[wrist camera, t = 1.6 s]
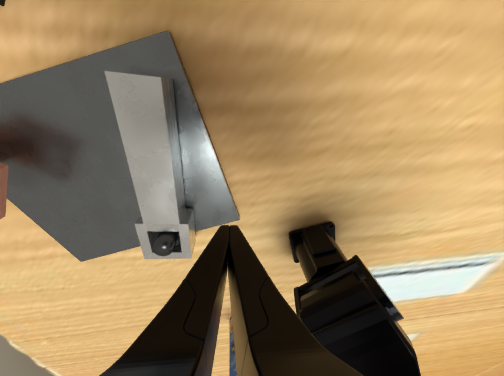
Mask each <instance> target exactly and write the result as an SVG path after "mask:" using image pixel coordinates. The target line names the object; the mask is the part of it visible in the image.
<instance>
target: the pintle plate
mask: <svg viewBox="0 0 504 376" xmlns="http://www.w3.org/2000/svg"><path fill="white" fill-rule="evenodd" d="M105 71H110V72H119V73H127V74H136V75H145V76H154V77H162V78H169V79H173V87H174V97H175V107H176V116H177V126H178V136H179V146H180V156H181V166H182V176H183V185H184V195H185V205H186V208H192V209H193V211H194V224H195V231H199V230H203V229H207V228H211V227H214V226H218V225H222V224H226V223H229V222H233V221H237V220H240V217H239V214H238V211H237V209H236V206H235V203H234V201H233V198H232V195H231V193H230V190H229V187H228V185H227V182H226V179H225V177H224V174H223V171H222V169H221V166H220V163H219V161H218V158H217V155H216V153H215V150H214V147H213V145H212V142H211V139H210V137H209V134H208V131H207V129H206V126H205V123H204V121H203V118H202V115H201V113H200V110H199V107H198V105H197V102H196V99H195V97H194V94H193V92H192V89H191V86H190V84H189V81H188V78H187V76H186V73H185V70H184V68H183V65H182V62H181V60H180V57H179V54H178V52H177V49H176V46H175V44H174V41H173V38H172V36H171V33H170V32H169V31H165V32H161V33H158V34H155V35H152V36H149V37H146V38H143V39H139V40H136V41H133V42H130V43H127V44H124V45H120V46H117V47H114V48H111V49H108V50H105V51H102V52H98V53H95V54H92V55H89V56H86V57H83V58H80V59H76V60H73V61H70V62H67V63H64V64H61V65H57V66H54V67H51V68H48V69H45V70H42V71H39V72H35V73H32V74H29V75H26V76H23V77H20V78H16V79H13V80H10V81H7V82H4V83H1V84H0V163H3V164H5V165H8V181H7V197H6V198H7V199H8V200H10V201H11V202H12V203H13V204H14V205H15V206H17V207H18V208H19V209H20V210H21V211H22V212H24V213H25V214H26V215H27V216H28V217H29V218H31V219H32V220H33V221H34V222H35V223H36V224H38V225H39V226H40V227H41V228H42V229H43V230H45V231H46V232H47V233H48V234H49V235H50V236H52V237H53V238H54V239H55V240H56V241H57V242H59V243H60V244H61V245H62V246H63V247H64V248H65V249H67V250H68V251H69V252H70V253H71V254H72V255H74V256H75V257H76V258H77V259H78V260H79V261H81V262H82V261H86V260H89V259H93V258H97V257H101V256H105V255H108V254H112V253H116V252H120V251H124V250H127V249H131V248H135V247H139V246H141V245H140V241H139V238H138V234H137V231H136V227H135V222H136V221H137V220H138V218H139V217H140V215H141V212H140V208H139V204H138V200H137V197H136V193H135V189H134V185H133V181H132V177H131V173H130V169H129V165H128V161H127V157H126V153H125V150H124V146H123V142H122V138H121V134H120V130H119V126H118V122H117V118H116V114H115V110H114V106H113V103H112V99H111V95H110V91H109V87H108V83H107V79H106V75H105ZM178 235H179V232H175V231H160V232H159V234H158V236H157V238H156V240H155V242H154V244H153V246H152V251H153V252H154V253H155V254H156V255H159V256H168V255H170V254H171V253H172V250H173V248H174V245H175V242H176V240H177V237H178Z"/></svg>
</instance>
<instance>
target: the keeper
mask: <svg viewBox="0 0 504 376" xmlns="http://www.w3.org/2000/svg"><path fill="white" fill-rule="evenodd" d="M7 181H8V165H5V164H3V163H0V219H1V218H3V217H5V213H6V197H7Z"/></svg>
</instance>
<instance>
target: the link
mask: <svg viewBox="0 0 504 376" xmlns="http://www.w3.org/2000/svg"><path fill="white" fill-rule="evenodd" d="M105 75H106V79H107V83H108V87H109V91H110V95H111V99H112V103H113V106H114V110H115V114H116V118H117V122H118V126H119V130H120V134H121V138H122V142H123V146H124V150H125V153H126V157H127V161H128V165H129V169H130V173H131V177H132V181H133V185H134V189H135V193H136V197H137V200H138V204H139V208H140V212H141V215H140V217H139V218H138V220H137V221H136V222H135V227H136V231H137V234H138V238H139V241H140V245H141V248H142V252H143V255H144V259H175V258H192V254H193V250H194V246H195V242H196V237H195V224H194V211H193V209H192V208H186V205H185V195H184V185H183V176H182V166H181V156H180V146H179V136H178V126H177V116H176V107H175V97H174V87H173V79H169V78H162V77H154V76H145V75H136V74H127V73H119V72H110V71H105ZM160 231H175V232H179V235H178V237H177V240H176V242H175V245H174V248H173V250H172V253H171V254H170V255H168V256H159V255H156V254H155V253H154V252H153V251H152V246H153V244H154V242H155V240H156V238H157V236H158V234H159V232H160Z"/></svg>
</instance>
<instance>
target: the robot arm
mask: <svg viewBox="0 0 504 376" xmlns="http://www.w3.org/2000/svg"><path fill="white" fill-rule="evenodd" d="M289 239H290V244H291V249H292V254H293V259H294V262H295V263H299V262H300V265H301V267H302V270H303V273H304V275H305V278H306V280H307V283H305V284H303V285H301V286H299V287H296V288H294V298H295V306H296V313H295V312H294V311H293V310H292V308H291V307H290V306H289V305H288V303H287V302H286V301H285V299H284V298H283V297H282V295H281V294H280V292H279V291H278V289H277V288H276V286H275V285H274V283H273V282H272V280H271V278H270V277H269V276H268V274H267V272H266V271H265V269H264V267H263V266H262V264H261V262H260V261H259V259H258V258H257V256H256V254H255V253H254V251H253V250H252V248H251V246H250V245H249V243H248V242H247V240H246V238H245V237H244V235H243V233H242V232H241V230H240V229H239V227H238V226H237V225H230V226H229V225H221V226H220V227H219V229H218V230H217V232H216V233H215V235H214V236H213V238H212V239H211V241H210V242H209V244H208V245H207V247H206V248H205V249H204V251H203V252H202V254H201V255H200V257H199V258H198V260H197V261H196V263H195V264H194V266H193V267H192V268H191V270H190V271H189V273H188V274H187V276H186V278H185V279H184V280H183V282H182V283H181V284H180V286H179V287H178V289H177V290H176V291H175V293H174V294H173V296H172V297H171V298H170V300H169V301H168V302H167V303H166V304H165V306H164V307H163V308H162V309H161V311H160V312H159V313H158V314H157V315H156V317H155V318H154V319H153V320H152V321H151V323H150V324H149V325H148V326H147V327H146V328H145V330H144V331H143V332H142V333H141V334H140V336H139V337H138V338H137V339H136V340H135V341H134V343H133V344H132V345H131V346H130V347H129V348H128V350H127V351H126V352H125V353H124V354H123V355H122V356H121V357H120V358H119V359H118V360H117V361H116V362H115V363H114V364H113V365H112V366H111V367H109V368H108V369H107V370H106V371H105V372H103V373H102V374H101V375H99V376H211V373H212V367H213V360H214V354H215V348H216V341H217V335H218V328H219V322H220V316H221V309H222V303H223V296H224V290H225V283H226V277H227V269H228V279H229V290H230V301H231V312H232V323H233V334H234V345H235V356H236V367H237V376H421V374H420V370H419V366H418V361H417V357H416V353H415V351H414V348H413V346H412V343H411V341H410V339H409V337H408V336H407V335H406V333H405V332H404V330H403V329H402V328H401V326H400V325H399V323H398V322H397V321H399V320H401V319H404V318H403V316H402V315H401V313H400V312H399V311H398V309H397V308H396V306H395V305H394V304H393V302H392V301H391V299H390V298H389V297H388V295H387V294H386V292H385V291H384V290H383V288H382V287H381V286H380V284H379V283H378V282H377V280H376V279H375V278H374V276H373V275H372V274H371V272H370V271H369V270H368V269H367V267H366V266H365V265H364V264H363V262H362V261H361V260H360V258H359V257H358V256H357V255H355V256H353V258H351V259H349V260H347V259H346V257H345V256H344V254H343V253H342V251H341V250H340V248H339V247H338V245H337V244H336V242H335V225H334V223H333V222H327V223H323V224H319V225H315V226H312V227H308V228H304V229H300V230H296V231H292V232H290V233H289ZM296 314H297V315H296Z"/></svg>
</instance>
